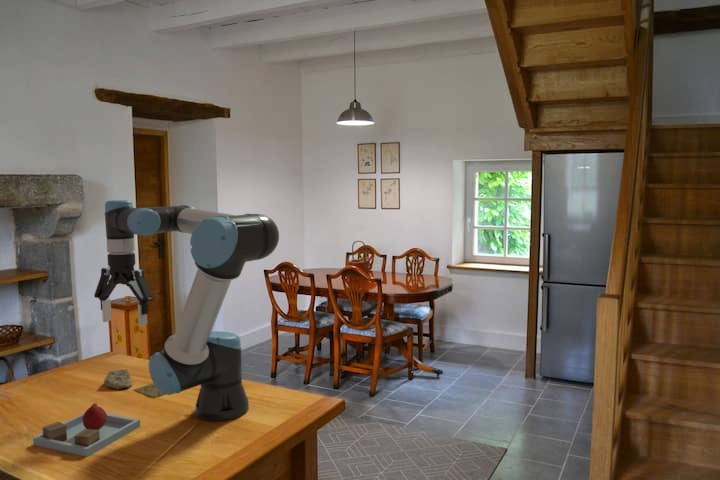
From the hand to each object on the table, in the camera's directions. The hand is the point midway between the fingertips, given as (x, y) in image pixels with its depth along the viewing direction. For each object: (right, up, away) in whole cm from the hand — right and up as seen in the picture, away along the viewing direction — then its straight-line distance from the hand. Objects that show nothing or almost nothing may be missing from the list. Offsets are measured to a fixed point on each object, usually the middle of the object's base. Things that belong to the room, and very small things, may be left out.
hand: (125, 323), depth 170 cm
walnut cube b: (-8, -27, -23) cm, 37 cm away
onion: (0, -27, -18) cm, 32 cm away
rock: (-9, -23, +18) cm, 31 cm away
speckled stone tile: (+5, -24, +14) cm, 28 cm away
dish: (-1, -27, -20) cm, 34 cm away
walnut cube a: (+2, -27, -27) cm, 39 cm away
